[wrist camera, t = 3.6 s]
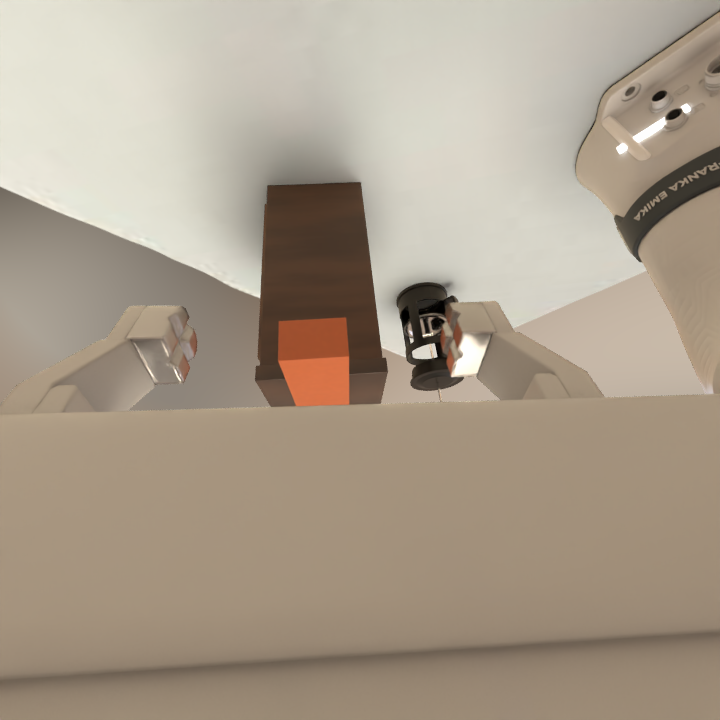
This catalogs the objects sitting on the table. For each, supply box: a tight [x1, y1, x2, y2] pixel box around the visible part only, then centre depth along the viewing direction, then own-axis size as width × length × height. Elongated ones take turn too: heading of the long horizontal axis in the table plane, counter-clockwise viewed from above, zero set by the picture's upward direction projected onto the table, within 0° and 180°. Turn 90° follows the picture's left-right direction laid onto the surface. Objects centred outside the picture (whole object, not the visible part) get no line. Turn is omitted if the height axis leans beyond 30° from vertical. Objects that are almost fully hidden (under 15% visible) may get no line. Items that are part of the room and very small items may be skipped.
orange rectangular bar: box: [278, 318, 349, 406], centre depth 35 cm, size 25×4×3 cm, turn 179°
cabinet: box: [255, 183, 388, 407], centre depth 45 cm, size 15×13×26 cm
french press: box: [397, 283, 464, 402], centre depth 63 cm, size 12×9×23 cm
